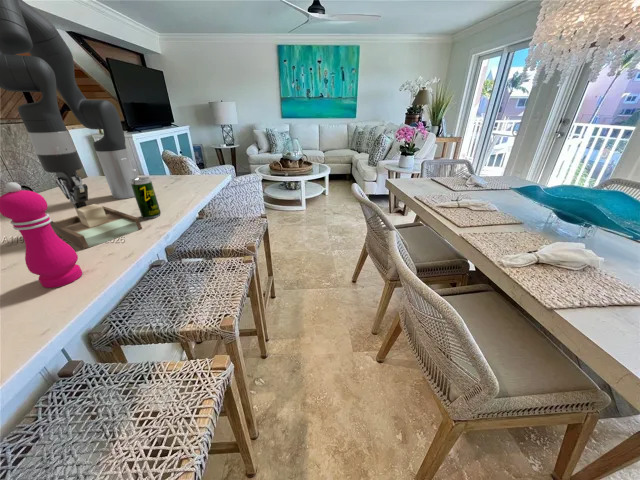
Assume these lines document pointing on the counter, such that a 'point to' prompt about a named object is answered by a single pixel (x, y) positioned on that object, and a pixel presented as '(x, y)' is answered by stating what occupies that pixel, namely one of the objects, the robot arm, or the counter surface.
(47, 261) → the pepper mill
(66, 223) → the box
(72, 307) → the counter surface
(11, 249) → the counter surface
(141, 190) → the beer can
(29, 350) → the counter surface
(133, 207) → the counter surface
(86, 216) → the maple block
